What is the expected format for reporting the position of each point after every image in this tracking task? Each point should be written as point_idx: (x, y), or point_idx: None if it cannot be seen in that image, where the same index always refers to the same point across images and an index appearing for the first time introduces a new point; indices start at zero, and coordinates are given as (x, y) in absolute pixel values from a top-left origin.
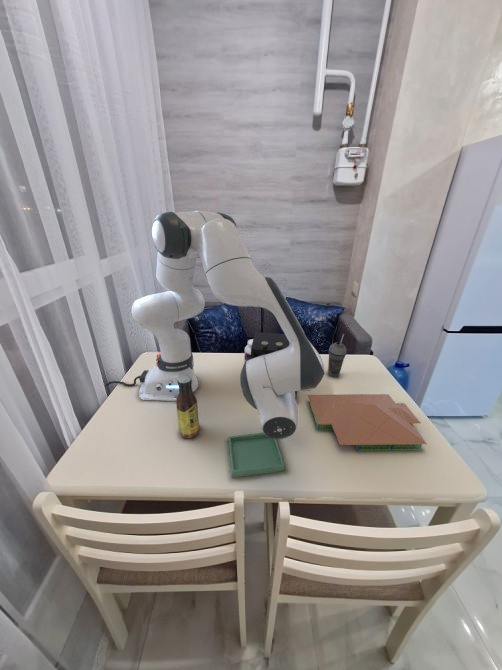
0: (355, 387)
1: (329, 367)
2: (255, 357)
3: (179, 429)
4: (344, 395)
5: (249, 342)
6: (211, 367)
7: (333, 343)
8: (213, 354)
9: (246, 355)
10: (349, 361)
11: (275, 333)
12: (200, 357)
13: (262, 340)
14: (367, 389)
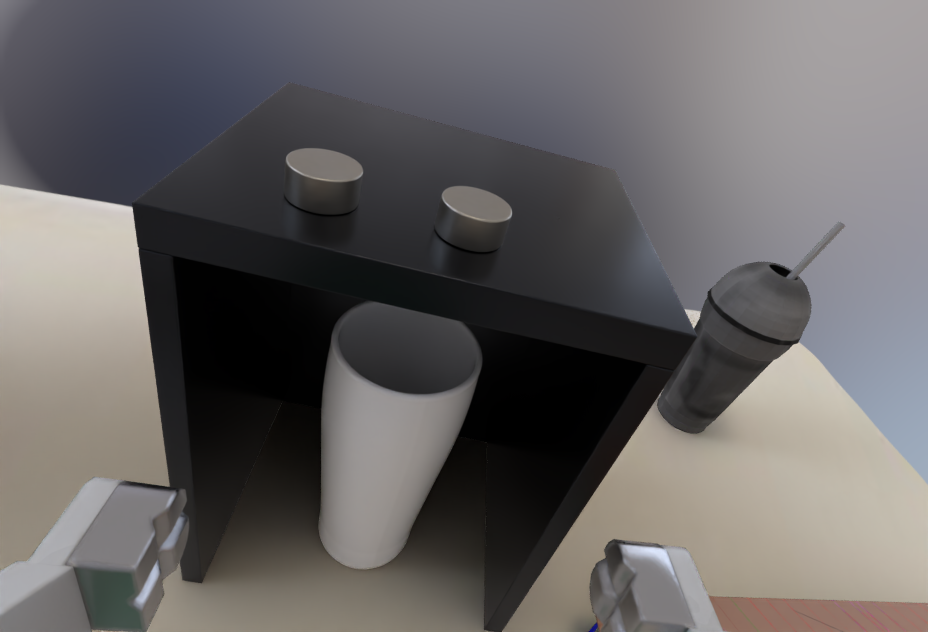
0: (797, 508)
1: (683, 382)
2: (256, 285)
3: None
4: (813, 617)
5: None
6: (37, 281)
7: (750, 266)
8: (101, 210)
9: None
10: None
11: (447, 125)
12: (10, 212)
13: (322, 147)
14: (852, 526)
